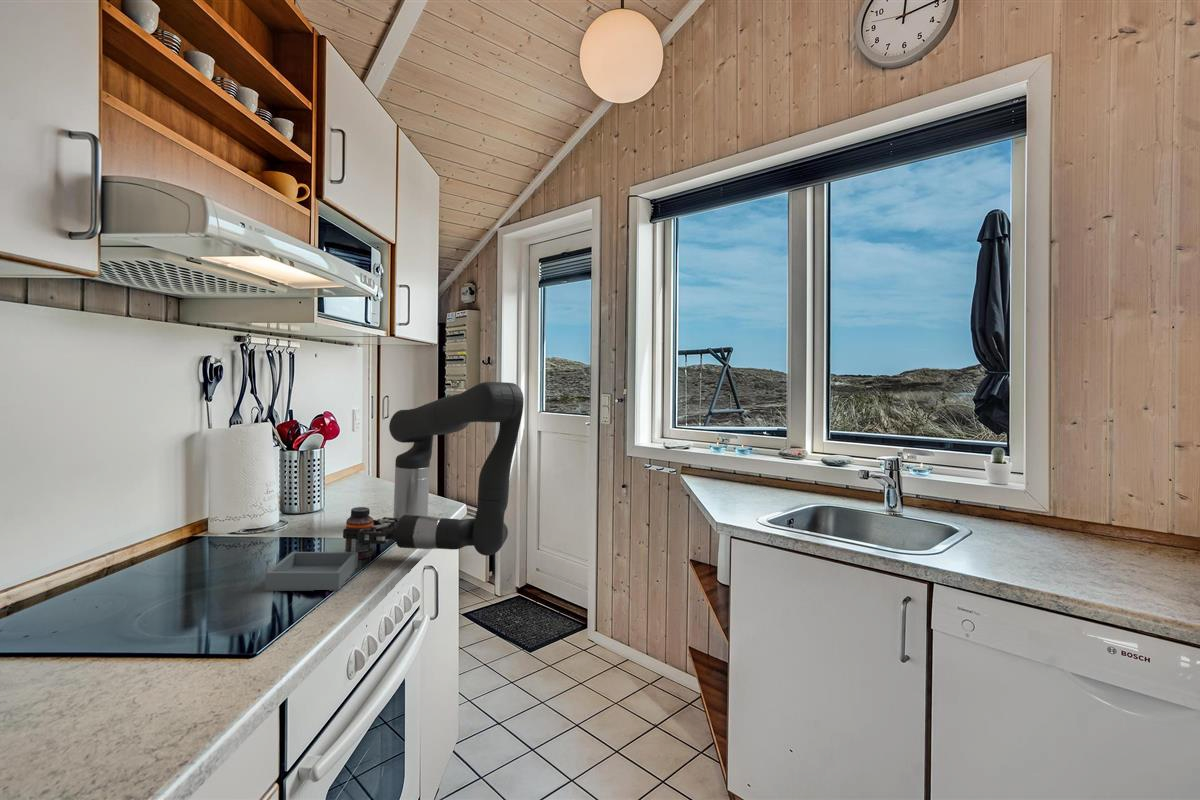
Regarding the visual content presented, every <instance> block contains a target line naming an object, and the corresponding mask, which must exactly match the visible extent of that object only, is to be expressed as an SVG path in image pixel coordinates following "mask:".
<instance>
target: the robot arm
mask: <svg viewBox="0 0 1200 800" xmlns="http://www.w3.org/2000/svg"><path fill="white" fill-rule="evenodd" d="M523 411H524V393H523V391H522V388H521V387H520V386H519V385H517V384H516V383H515V382H504V381H503V382H501V381H484V382H480V383H478V384H476V385H474V386H472V387H471V388H469V389H467V390H465V391H463V392H461V393H457V394H452V395H447V396H444V397H442V398H439V399H437V400H433V401H431V402H428V403H425V404H423V405H420V406H418V407H415V408H409V409H399V410H398V411H396V412H394V414H393V415H392V416H391V418H390V421H389V426H388V427H389V433H390V435H391V437H392V439H393V440H395V441H397V442H398V443H405V444H406V443H413V445H412V447H410V448H409V449H408V450H407V451H405V452H403V453H401V454H398V455H397V456H396V457H395V463H394V465H395V466H394V491H393V492H394V495H393V517H386V516H384V517H382V518H376V519H373V521H374V523H373V526H370V528H366V529H353V528H346V527H345V528H344V529H343V530H342V538H343V539H345V540H346V539H358V543H367V544H373V545H385V544H386V543H387V542H390V541H391V540H394V541H395V543H396V546H397V547H398V548H400V549H415V550H416V549H417V550H439V549H440V550H452V551H453V550H461V549H462V548H464V547H468V546H469V547H474V549H475V551H476V552H477V553H478V554H480V555H482V556H492V555H495V554H496V553H498V552H499V551H500V550H501V549H502V547H503V546H504V544H505V542H506V540H507V539H508V535H509V529H508V526H507V525H506V523H505V522H504V521H505V512H506V510H507V507H508V503H509V494H510V491H509V490H510V478H511V469H512V462H513V458H514V454H515V449H516V445H517V440H518V436H519V431H520V427H521V423H522V417H523ZM470 423H499V428H498V429H499V431H498V434H497V437H496V440H495V443H494V445H493V448H492V449H491V451H490V452H489V454H488V455H487V458H486V460H485V461H484V463H483V464H482V467H481V469H480V473H479V477H478V486H477V487H478V488H477V507H476V513H475V516H474V518H464V519H463V518H462V519H459V518H448V517H446V518H443V517H436V516H429V515H428V514H429V491H430V490H429V489H430V466H431V465H430V464H431V458H432V455H433V442H434V436H442V435H449V434H453V433H458V432H460V431H463V430H464V429H466V428H467V427H468V426H469V424H470ZM365 535H369V537H365Z"/></svg>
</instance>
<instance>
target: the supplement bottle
mask: <svg viewBox="0 0 1200 800" xmlns="http://www.w3.org/2000/svg"><path fill="white" fill-rule="evenodd" d="M373 520H374V518H373V517H372V516H370V508H369V507H367V506H357V507H356V506H355V507H353V508H351V510H350V516H349V517H348V518H347V519H346V521H345V522H346V523H345V528H353V529H366V528H370V526H373V523H374V521H373ZM365 537H369V535H365ZM373 549H374V544H367V543H358V539H345V551H344V552H358V560H365V559H367V558H370V557H371V556H372V555H373V551H374V550H373ZM364 558H365V559H364Z"/></svg>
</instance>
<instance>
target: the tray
mask: <svg viewBox="0 0 1200 800" xmlns="http://www.w3.org/2000/svg"><path fill="white" fill-rule="evenodd" d="M358 560H359V559H358V552H345V551H291V552H290V553H289V554H287V556H285V557H284V558H282V560H280V561H278V562H277V563H276V564H275V565H274V566H272V567H271V568H270V569H269V570H268V571H266V572H265V576H264V577H265V578H264V581H265V582H264V591H265V592H269V591H270V592H274V591H275V592H278V591H279V592H281V591H282V592H284V591H287V592H288V591H289V592H290V591H291V592H294V591H296V592H297V591H299V592H301V591H303V592H304V591H305V592H307V591H311V592H312V591H313V592H314V590H329V591H340V590H341V588H342V587H343V586H344V585H345V584H344V583H346V582H347V581H348V580H349V579H350V577H351V576H352V575H353V574H354V573H355V571H356V570H357V569H358V565H359V564H358V562H359V561H358ZM356 568H357V569H356ZM355 569H356V570H355ZM354 570H355V571H354ZM353 572H354V573H353ZM352 573H353V574H352ZM351 574H352V575H351ZM350 575H351V576H350ZM348 578H349V579H348ZM347 579H348V580H347ZM346 580H347V581H346ZM345 581H346V582H345ZM343 584H344V585H343ZM342 585H343V586H342ZM341 586H342V587H341ZM339 589H340V590H339Z"/></svg>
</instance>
